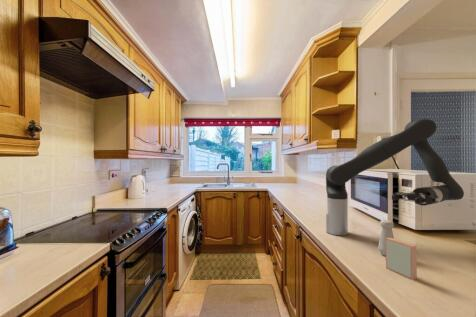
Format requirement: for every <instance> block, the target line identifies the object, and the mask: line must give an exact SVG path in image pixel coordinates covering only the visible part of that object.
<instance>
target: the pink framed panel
mask: <svg viewBox="0 0 476 317" xmlns="http://www.w3.org/2000/svg"><path fill="white" fill-rule="evenodd" d="M417 253H418V252H417V245H416V244H412V243H409V242H406V241H402V240H399V239H395V238H394V239H393V238H390V237H389V238H386V256H385V269H387V270H389V271H391V272H393V273H396V274H399V275H400V276H402V277H403V276H404V277H406V278H408V279H410V280H412V281H414V280H416V279H418V274H417V273H418V270H417V269H418V267H417V265H418V264H417V263H418V261H417V257H418V256H417Z"/></svg>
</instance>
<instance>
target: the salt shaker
mask: <svg viewBox="0 0 476 317" xmlns="http://www.w3.org/2000/svg"><path fill="white" fill-rule="evenodd" d="M379 224H380V225H379V226H380V227H381V230H380V231H381V232H380V237H379V240H378V242H379V243H378V247H377V249H378V250H379V252H380V254H381V256H384V257H386V238H389V237H390V238H393V239H395V237H394V231H393V228H394V222H393V221H392V220H389V219H381V220H380V222H379Z"/></svg>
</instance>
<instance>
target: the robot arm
mask: <svg viewBox="0 0 476 317" xmlns="http://www.w3.org/2000/svg"><path fill="white" fill-rule="evenodd" d="M436 131H437V123H436V122H435V121H433V119H427V118H420V119H417V120H412V121H410V122H408V123H407V124H405V126H404V130H403V131H401V132H398V133H397V134H394V135H391V136H388V137H385V138H383V139H381V140H379V141H377V142H374V143H372V144H371V145H370V146H367V147H366V148H364V149H363V150H362V151H361V152H359V153H358V154H357V155H356V156H355V157H353V158H352V159H350V160H348V161H346V162H344V163H341V164H339V165H331V166H330V167H329V168H328V169H327V170H326V173H325V189H326V190H325V191H326V195H327V196H326V197H327V198H326V201H327V202H326V203H327V204H326V205H327V206H326V207H327V212H326V216H325V218H326V219H325V220H326V221H325V223H326V226H325V228H326V231H325V232H326V233H328V234H331V235H333V236H334V235H335V236H347V235H348V234H349V231H348V230H349V224H348V223H349V218H348V217H349V216H348V213H349V212H348V211H349V210H348V207H349V206H348V203H349V202H348V195H349V194H348V191H347V189H346V188H347V187H346V183H347V182H349V181H351V180H352V179H353V178H354V177H356V176H358V175H359V174H361V173H362V172H365V171H367V170H369V169H371V168H373V167H376V166H378V165H380V164H381V163H383V162H385V161H387V160H388V159H390V158H392V157H394V156H396V155H397V154H399V153H401V152H402V151H404V150H405V149H407V148H409V147H410V146H412V147H413V148H414V150H415V151H416V152H417V154H418V156H419V157H420V159H421V161H422V162H423V165H424V167H425V169H426V172H427V174H428V176H429V177H430V179H431V181H432V182H436V183H441V184H439V185H440V186H439V185H434V186H422V187H417V188H415V189H413V190H412V191H409V192H404V191H400V192H394V193H393V194H392V195H391V200H392V201H404V202H414V204H416V205H417V206H418V205H419V206H424V207H425V206H429V205H435V204H438V203H441V202H444V201H458V200H462V199H463V198H464V195H465V192H464V189H463V188H462V187H461V185H460V184H459V183H458V182H457V181H456V180H455V178H454V177H453V176H452V175H451V173H450V172H449V169H448V167H447V165H446V163H445V161H444V160H443V158H442V157H441V156H440V155H439V154H438V153H437V151H435V150H434V148H433V147H432V146H431V144H430V142H429V141H428V139H429V138H431V137H432V136H433V135H435V134H436Z"/></svg>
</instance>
